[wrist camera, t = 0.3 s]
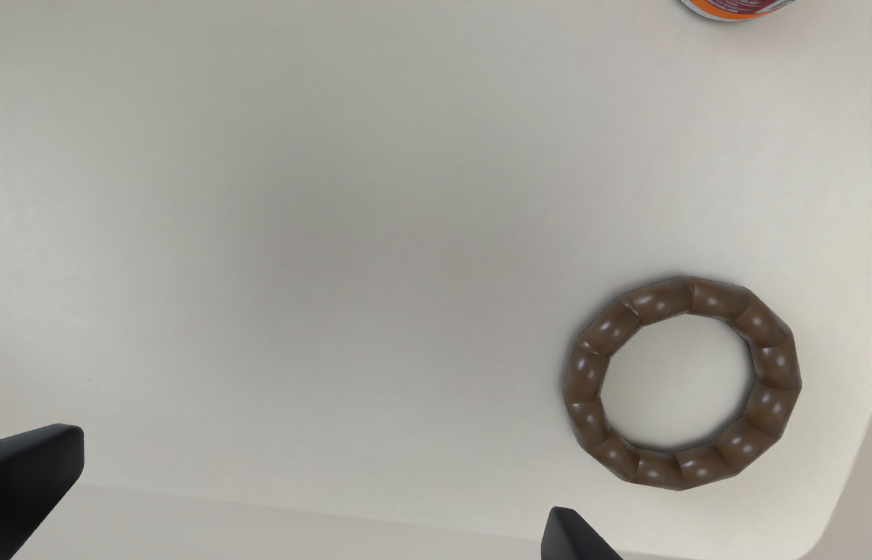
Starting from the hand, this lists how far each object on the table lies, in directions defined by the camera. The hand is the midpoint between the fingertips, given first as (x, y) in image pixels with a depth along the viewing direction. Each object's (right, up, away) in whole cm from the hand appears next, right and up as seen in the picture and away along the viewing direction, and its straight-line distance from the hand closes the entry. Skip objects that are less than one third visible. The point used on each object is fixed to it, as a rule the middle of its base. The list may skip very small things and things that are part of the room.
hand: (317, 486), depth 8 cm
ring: (+13, -1, +12) cm, 18 cm away
